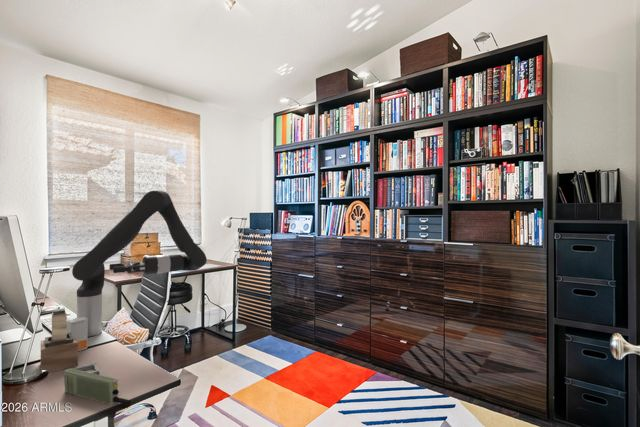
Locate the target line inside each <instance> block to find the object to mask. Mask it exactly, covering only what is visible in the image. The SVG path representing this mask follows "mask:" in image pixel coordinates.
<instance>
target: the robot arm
mask: <svg viewBox="0 0 640 427" xmlns="http://www.w3.org/2000/svg"><path fill="white" fill-rule="evenodd" d="M157 212H158V213H159V214H160V216H161V217H162V218H163V220H164V221H165V223H166V225H167V228H168V231H169V234H170V237H171V239H172V241H173V243H174V244H175V245H176V247H177V249H178V250H179V251H180V252H181V253H184V254H185V255H181V254H158V255H156V254H155V255H145V256H144V257H143V258H142V261H139V260H132V261H129V260H128V261H121V262H120V263H110V264H109V267H108V268H109V271H112V272H113V273H114V274H118V273H120V274H121V273H127V274H132V273H134V274H135V273H142V272H143V274H144V275H146V276H148V275H157V274H165V273H171V272H179V271H182V272H184V271H185V272H186V271H187V272H191V271H196V270H199V269H201V268H203V267H204V266H205V265H206V263H207V256H206V254H205V252H204V250H202V248H201V247H200V246H199V245H198V244H197V243H196V242H195V241H194V239H193V238H192V236H191V235H190V233H189V231H188V230H187V228H186V227H185V226H184V224H183V221H182V220H181V218H180V215H179V214H178V212H177V210H176V207H175V206H174V203H173V200H172V198H171V196H170V195H169V193H168V192H166V191H164V190H159V189H158V190H157V189H151V190H149V191H147V192H146V193H145V194H144V195H143V196H142V198H141V199H140V200H139V201H138V202H137V204H136V205H135V206H134V208H133V209H132V210H130V211H129V213H127V214H126V215H125V216H124V217H123V218H122V219H121V220H120V221H119V222H117V224H116V225H115V226H113V228H111V230H110V231H109V232H108V233H107V234H106V235H105V236H104V237H103V238H102V239H101V240H100V241H99V242H98V243H97V244H96V245H95V246H94V248H92V249H91V250H90V251H89V252H87V253H86V254H85V255H83V256H82V257H81V258H80V259H78V261H76V262H75V264H74V265H73V267H72V271H71V272H72V277H73V278H74V279H75V280H77V281H81V285H80V286H79V287H78V288H77V289H76V318H80V317H84V318H87V319H88V335H87V338H89V337H90V338H91V337H93V336H98V335H100V334H102V331H103V289H104V286H105V273H106V271H105V270H106V268H105V264H104V263H105V262H106V261H107V260H109V259H110V258H112V257H114V256H115V255H116V254H118V253H119V252H121V251H122V250H124V249H125V248H126V247H128V245H130V243H132V241H134V240H135V238H136V237H137V236H138V235H139V233H140V232H141V229H142V227H143V225H144V224H146V221H147V220H148V219H150V218H151V217H152V216H153V215H155V213H157Z"/></svg>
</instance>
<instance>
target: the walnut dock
mask: <svg viewBox="0 0 640 427" xmlns="http://www.w3.org/2000/svg"><path fill="white" fill-rule="evenodd" d="M78 355H79V351H78V342H77V339H76V336H75V335H72V333H68V334H67V339H66V340H61V341H56V342H52V336H47V337H44V340H43V339H42V340H40V371H41V370H47V371H48V372H47V373H50V372H54V371H59V370H63V369H67V368H68V369H69V368H72V367H76V366H77V367H78V365H79V363H78V361H79V360H78V359H79V358H78V357H79V356H78Z"/></svg>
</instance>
